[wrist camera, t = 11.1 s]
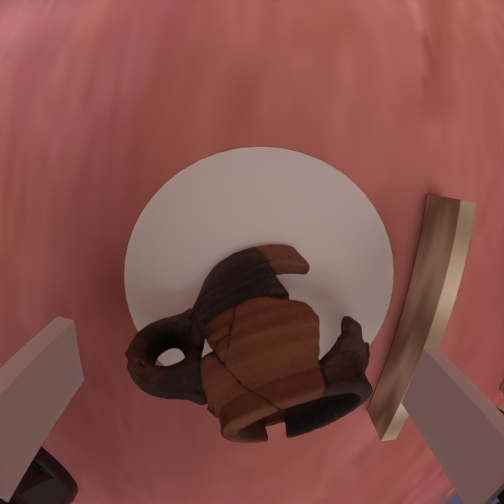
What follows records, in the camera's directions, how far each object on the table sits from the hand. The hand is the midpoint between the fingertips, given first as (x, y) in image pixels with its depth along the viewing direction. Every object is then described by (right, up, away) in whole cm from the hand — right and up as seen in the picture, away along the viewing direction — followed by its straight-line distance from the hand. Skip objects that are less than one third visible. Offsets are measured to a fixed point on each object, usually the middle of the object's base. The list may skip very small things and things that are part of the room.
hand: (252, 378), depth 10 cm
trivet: (+1, +2, +7) cm, 8 cm away
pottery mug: (-1, +2, +8) cm, 9 cm away
